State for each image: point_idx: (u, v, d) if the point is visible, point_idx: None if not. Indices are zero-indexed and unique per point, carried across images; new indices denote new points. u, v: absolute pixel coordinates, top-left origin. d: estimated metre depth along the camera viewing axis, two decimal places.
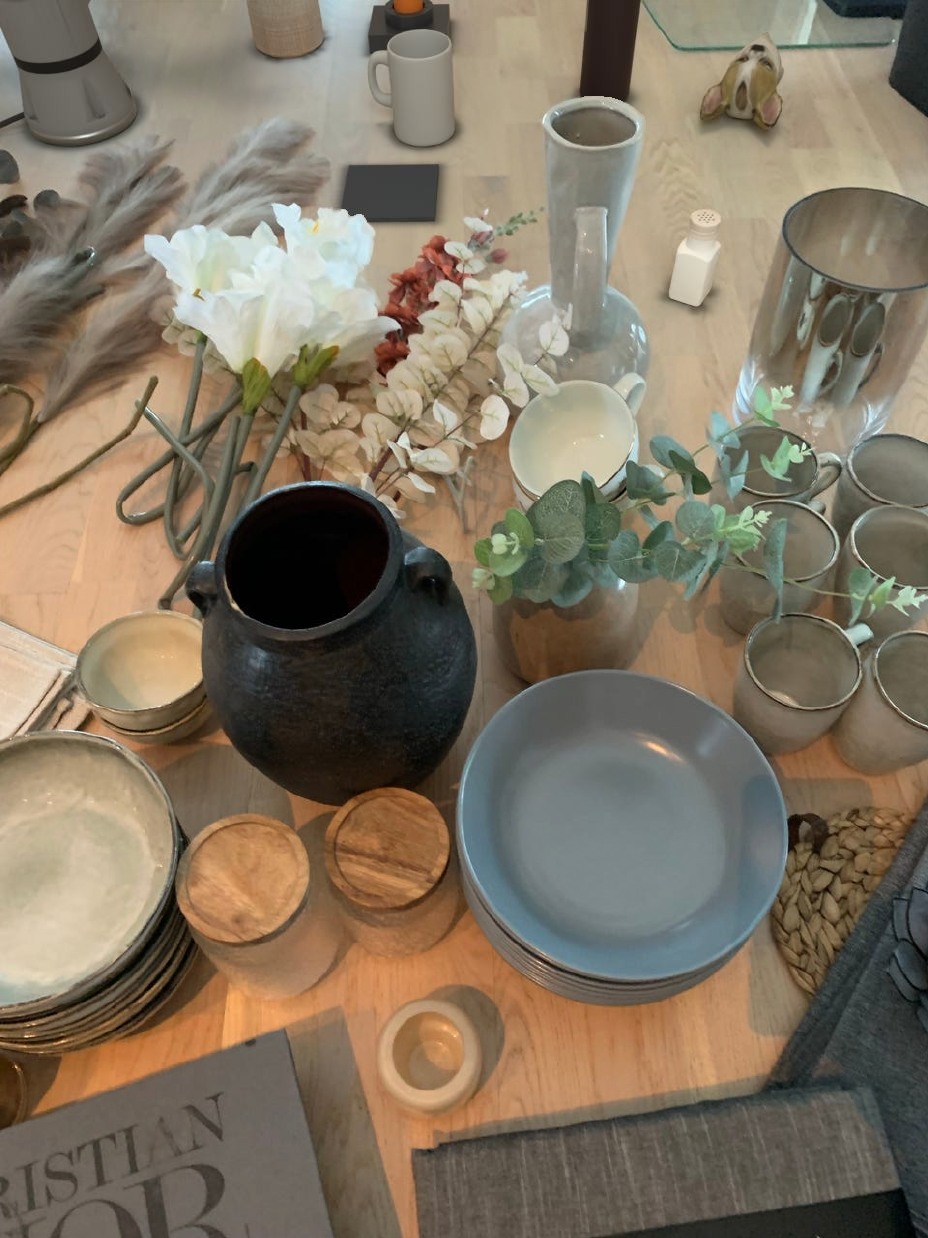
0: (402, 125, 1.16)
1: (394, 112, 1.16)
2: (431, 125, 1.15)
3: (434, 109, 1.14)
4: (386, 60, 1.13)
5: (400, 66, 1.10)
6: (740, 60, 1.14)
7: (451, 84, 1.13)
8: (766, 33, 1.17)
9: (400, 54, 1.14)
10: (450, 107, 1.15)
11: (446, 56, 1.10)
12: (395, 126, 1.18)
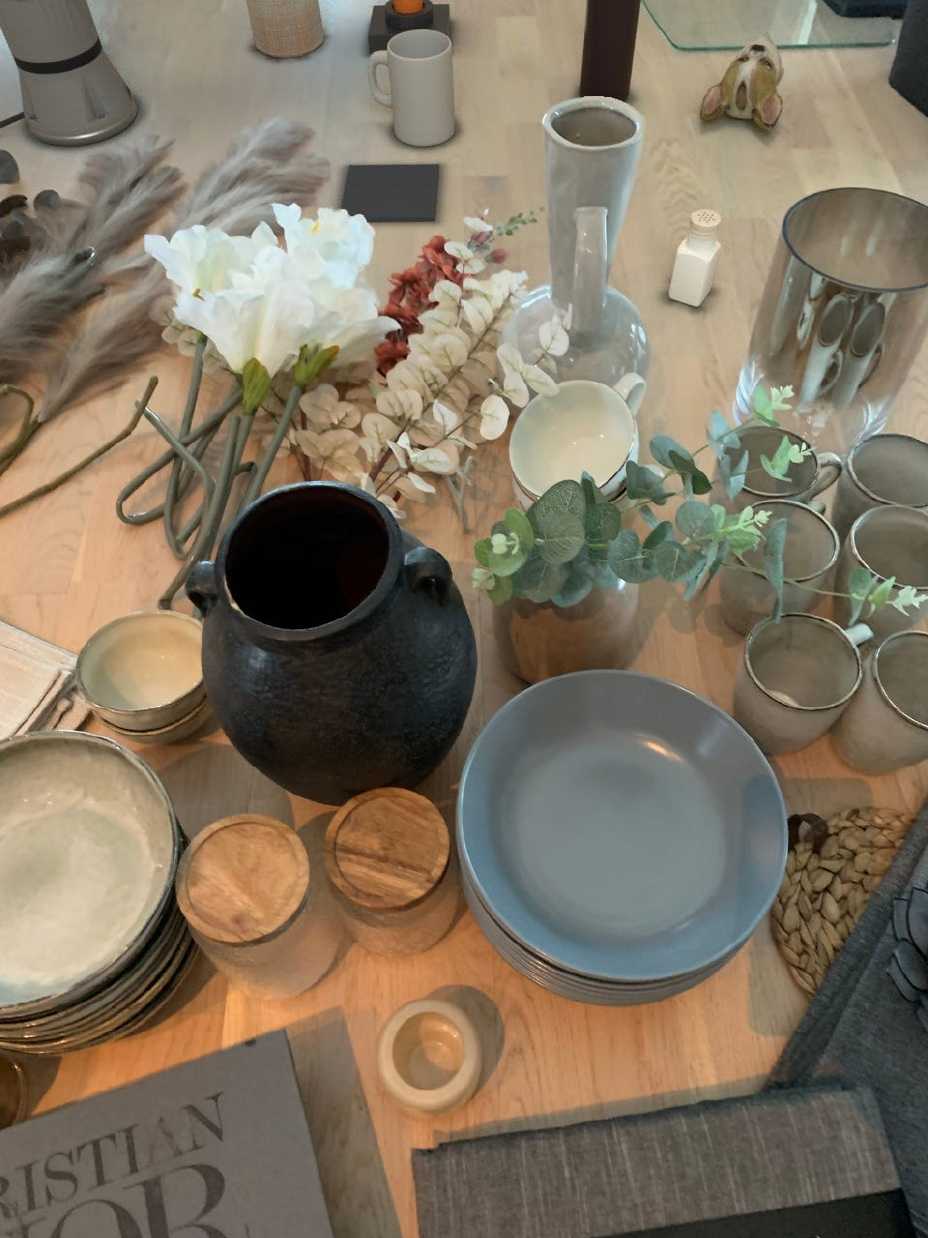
0: (402, 125, 1.16)
1: (394, 112, 1.16)
2: (431, 125, 1.15)
3: (434, 109, 1.14)
4: (386, 60, 1.13)
5: (400, 66, 1.10)
6: (740, 60, 1.14)
7: (451, 84, 1.13)
8: (766, 33, 1.17)
9: (400, 54, 1.14)
10: (450, 107, 1.15)
11: (446, 56, 1.10)
12: (395, 126, 1.18)
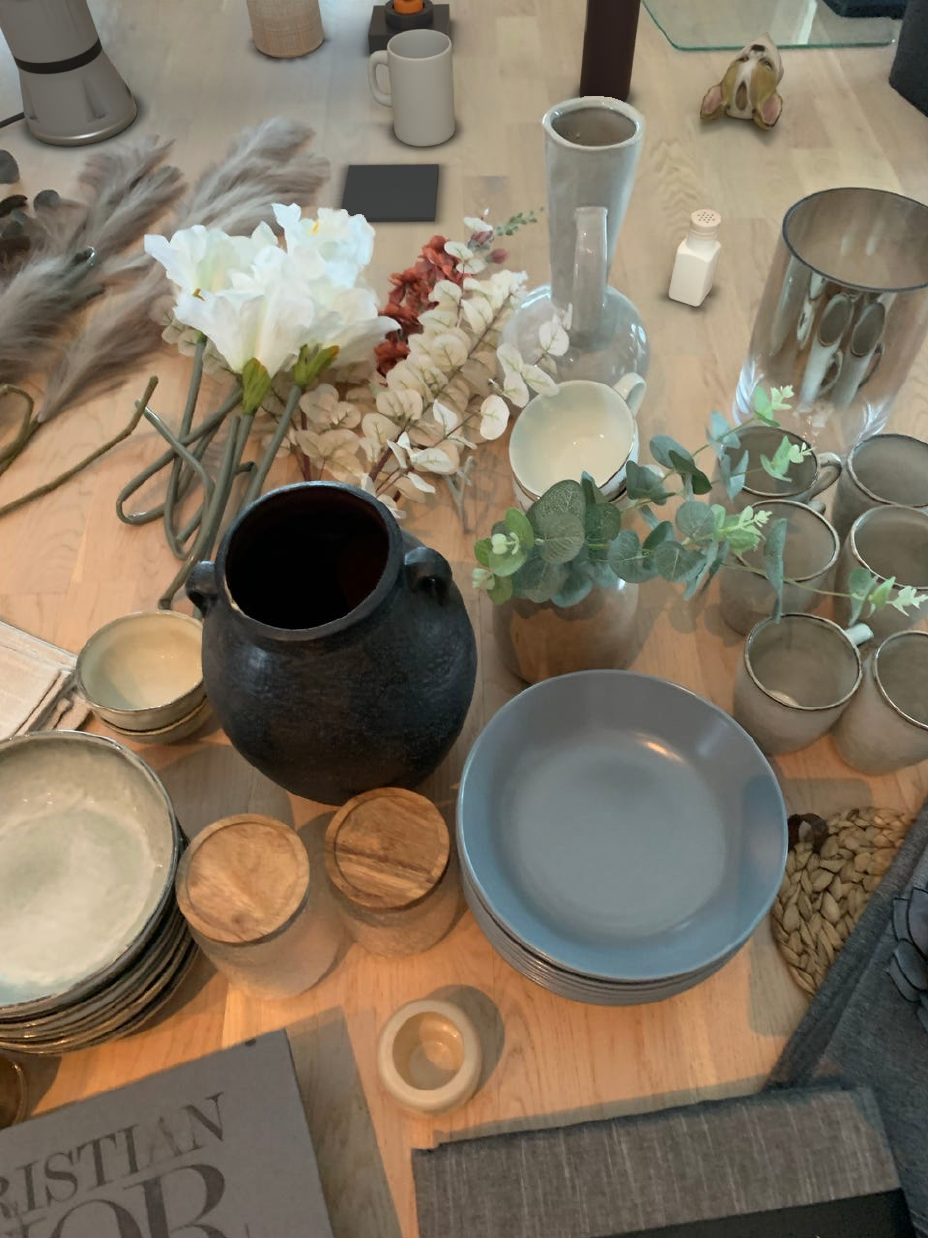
0: (402, 125, 1.16)
1: (394, 112, 1.16)
2: (431, 125, 1.15)
3: (434, 109, 1.14)
4: (386, 60, 1.13)
5: (400, 66, 1.10)
6: (740, 60, 1.14)
7: (451, 84, 1.13)
8: (766, 33, 1.17)
9: (400, 54, 1.14)
10: (450, 107, 1.15)
11: (446, 56, 1.10)
12: (395, 126, 1.18)
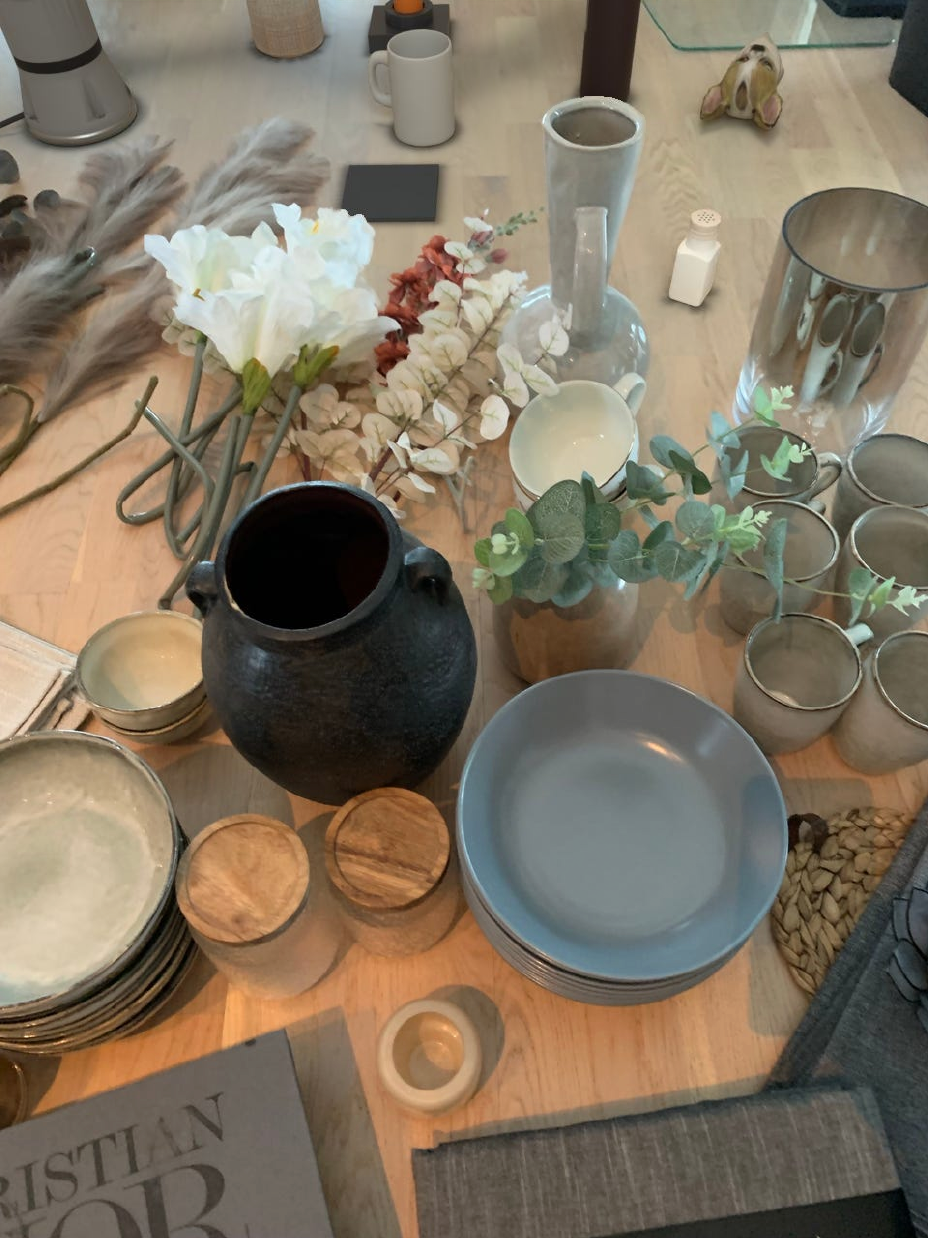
0: (402, 125, 1.16)
1: (394, 112, 1.16)
2: (431, 125, 1.15)
3: (434, 109, 1.14)
4: (386, 60, 1.13)
5: (400, 66, 1.10)
6: (740, 60, 1.14)
7: (451, 84, 1.13)
8: (766, 33, 1.17)
9: (400, 54, 1.14)
10: (450, 107, 1.15)
11: (446, 56, 1.10)
12: (395, 126, 1.18)
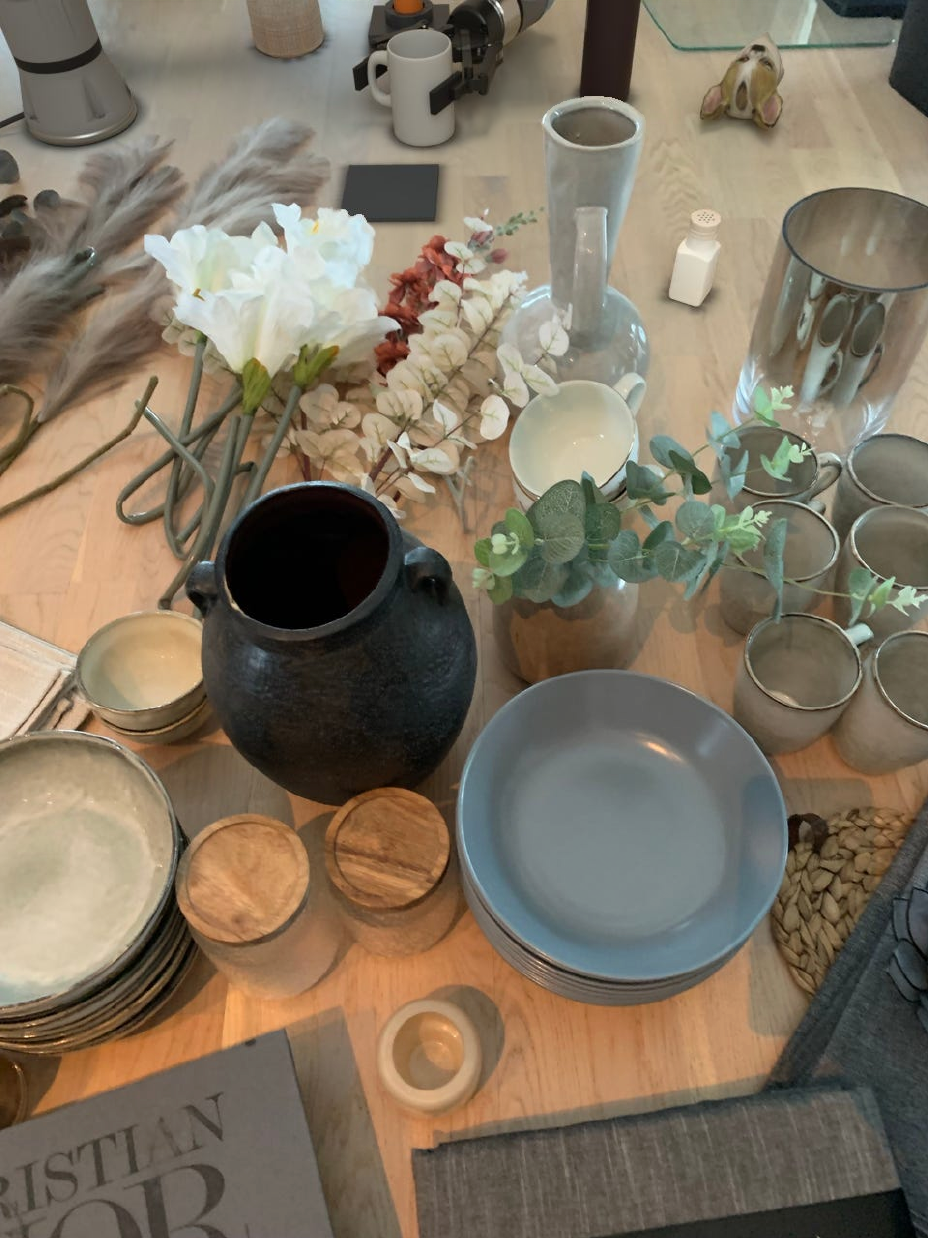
0: (402, 125, 1.16)
1: (394, 112, 1.16)
2: (431, 125, 1.15)
3: None
4: (386, 60, 1.13)
5: (400, 66, 1.10)
6: (740, 60, 1.14)
7: None
8: (767, 33, 1.17)
9: (400, 54, 1.14)
10: (450, 107, 1.15)
11: (446, 56, 1.10)
12: (395, 126, 1.18)
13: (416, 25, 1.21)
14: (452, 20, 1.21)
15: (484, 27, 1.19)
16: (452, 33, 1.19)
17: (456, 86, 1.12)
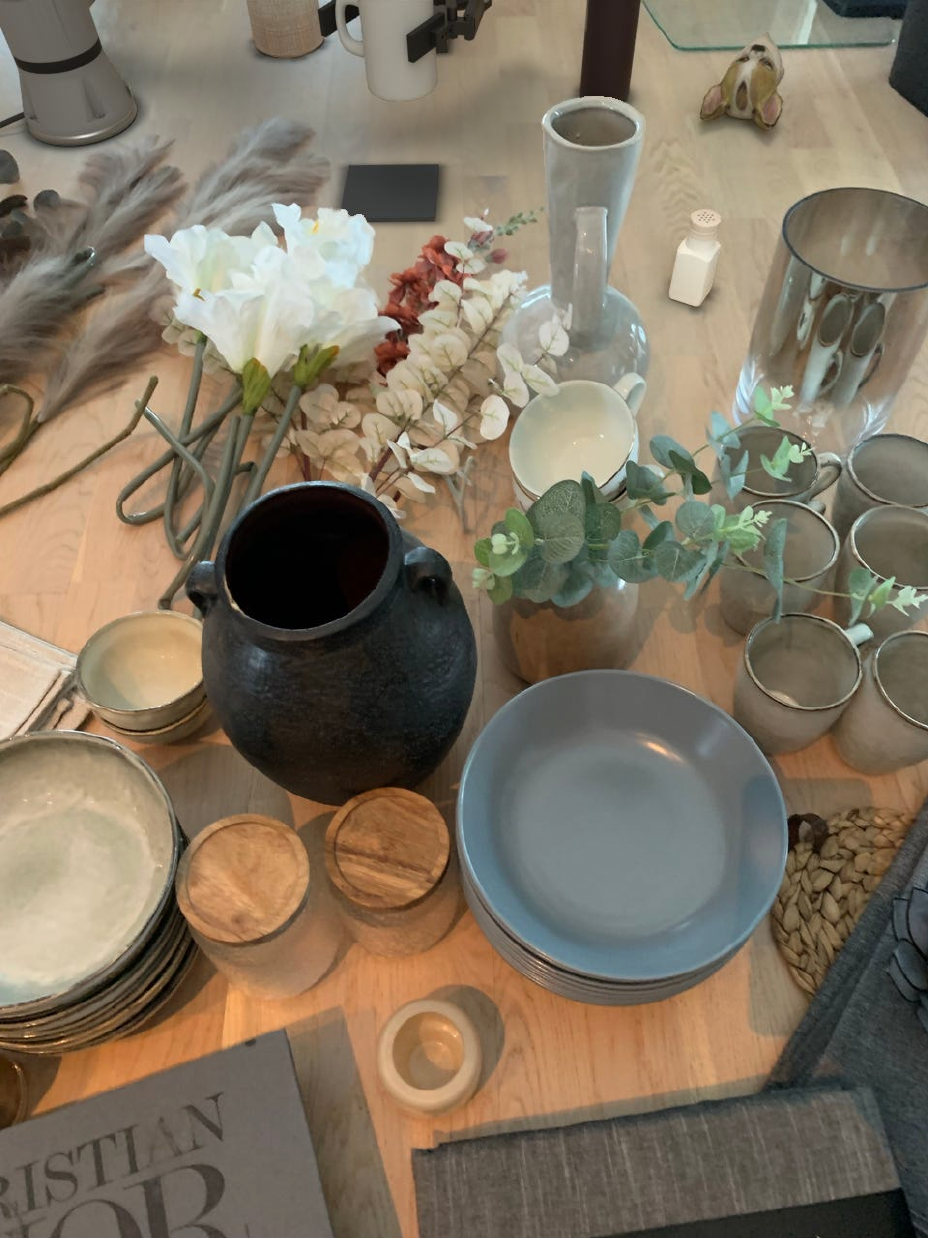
0: (376, 76, 1.00)
1: (366, 61, 1.00)
2: (409, 76, 0.99)
3: None
4: None
5: (372, 4, 0.94)
6: (740, 60, 1.14)
7: None
8: (767, 33, 1.17)
9: None
10: (431, 55, 1.00)
11: None
12: (368, 78, 1.02)
13: None
14: None
15: None
16: None
17: (438, 29, 0.96)
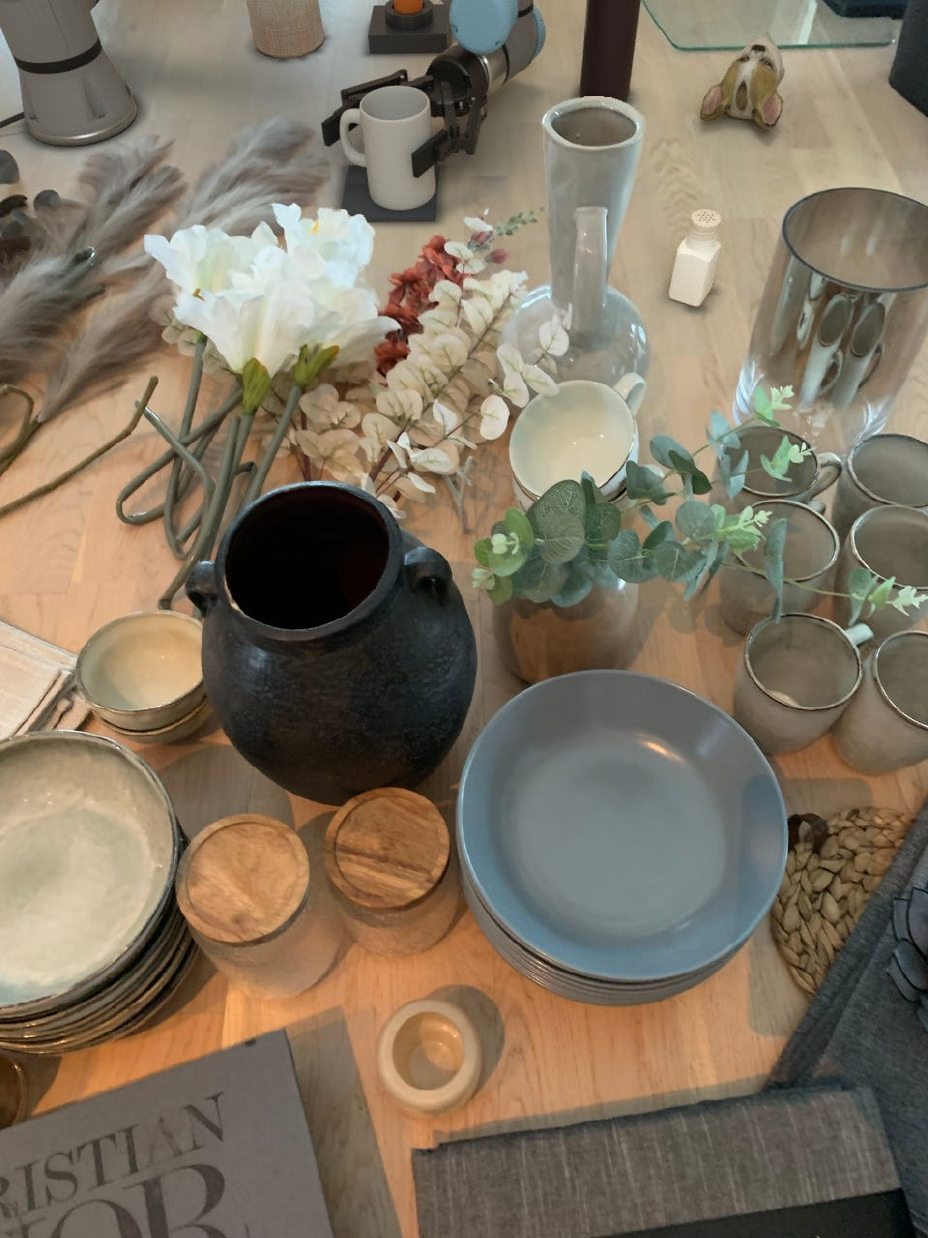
0: (377, 188, 1.07)
1: (368, 174, 1.07)
2: (408, 189, 1.06)
3: (411, 172, 1.04)
4: (359, 119, 1.04)
5: (374, 127, 1.00)
6: (741, 60, 1.14)
7: None
8: (767, 33, 1.17)
9: (374, 112, 1.05)
10: (429, 169, 1.06)
11: (423, 117, 1.01)
12: (370, 188, 1.09)
13: (394, 75, 1.11)
14: (432, 70, 1.12)
15: (467, 79, 1.10)
16: (431, 85, 1.10)
17: (441, 146, 1.03)
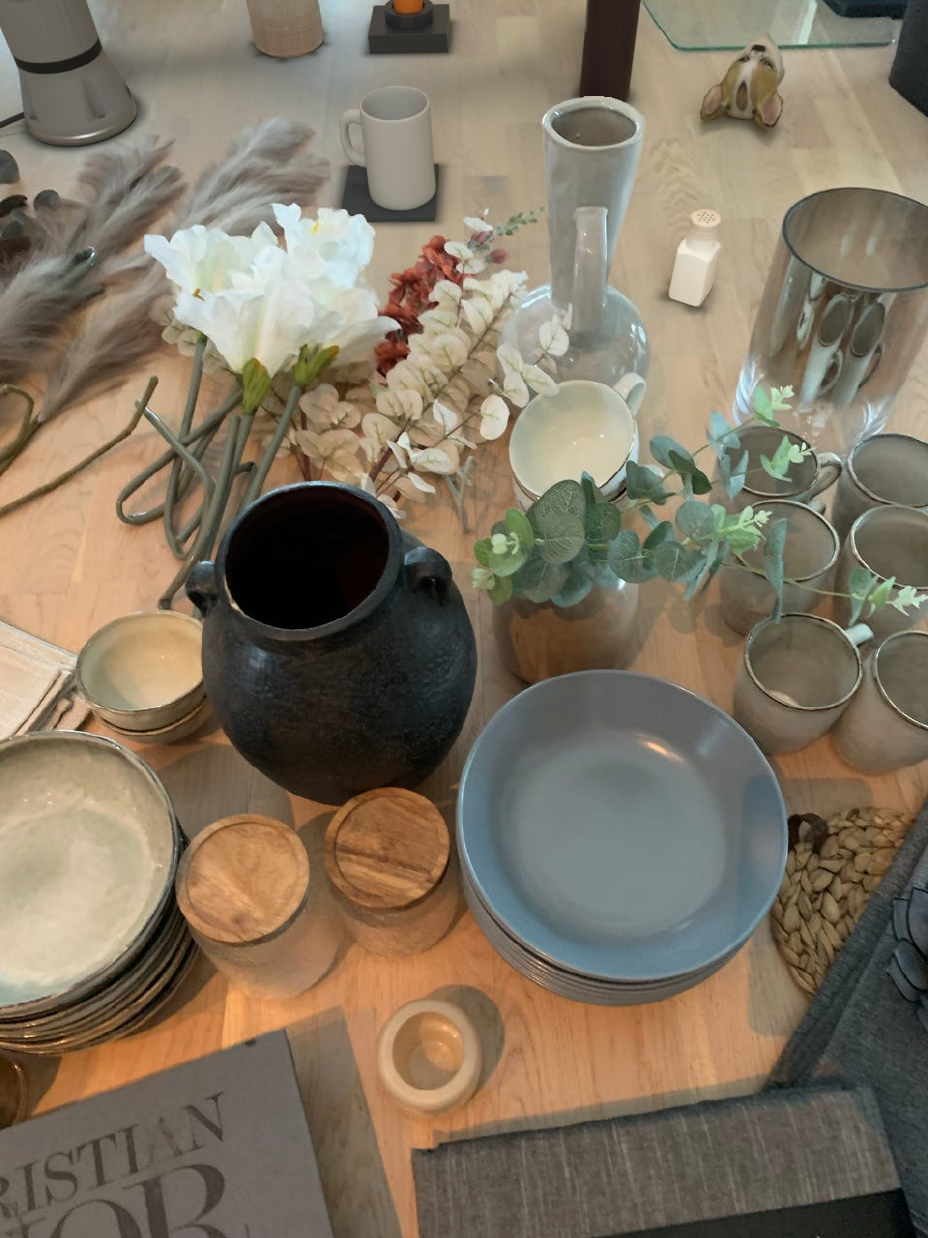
0: (377, 188, 1.07)
1: (368, 174, 1.07)
2: (408, 189, 1.06)
3: (411, 172, 1.04)
4: (359, 119, 1.04)
5: (374, 127, 1.00)
6: (741, 60, 1.14)
7: (430, 145, 1.04)
8: (767, 33, 1.17)
9: (374, 112, 1.05)
10: (429, 169, 1.06)
11: (423, 117, 1.01)
12: (370, 188, 1.09)
13: None
14: None
15: None
16: None
17: None
